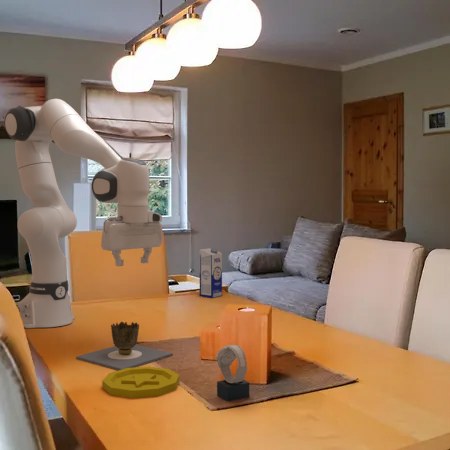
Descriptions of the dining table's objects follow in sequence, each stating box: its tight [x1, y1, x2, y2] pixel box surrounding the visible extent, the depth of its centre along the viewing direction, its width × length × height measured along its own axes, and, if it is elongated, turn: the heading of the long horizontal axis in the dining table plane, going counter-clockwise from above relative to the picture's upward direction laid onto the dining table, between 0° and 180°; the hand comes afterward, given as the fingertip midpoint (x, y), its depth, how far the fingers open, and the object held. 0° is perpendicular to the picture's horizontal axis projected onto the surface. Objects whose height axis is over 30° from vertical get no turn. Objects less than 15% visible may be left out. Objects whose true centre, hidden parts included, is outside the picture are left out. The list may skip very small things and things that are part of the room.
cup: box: [110, 321, 140, 355], centre depth 159 cm, size 8×7×8 cm
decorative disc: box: [101, 365, 181, 399], centre depth 136 cm, size 17×18×2 cm
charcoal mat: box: [75, 344, 174, 371], centre depth 159 cm, size 18×18×1 cm
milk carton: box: [199, 247, 223, 299], centre depth 249 cm, size 7×7×20 cm
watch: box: [214, 344, 250, 402], centre depth 128 cm, size 6×8×11 cm
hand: (132, 264), depth 169 cm, fingers open, 8 cm apart
